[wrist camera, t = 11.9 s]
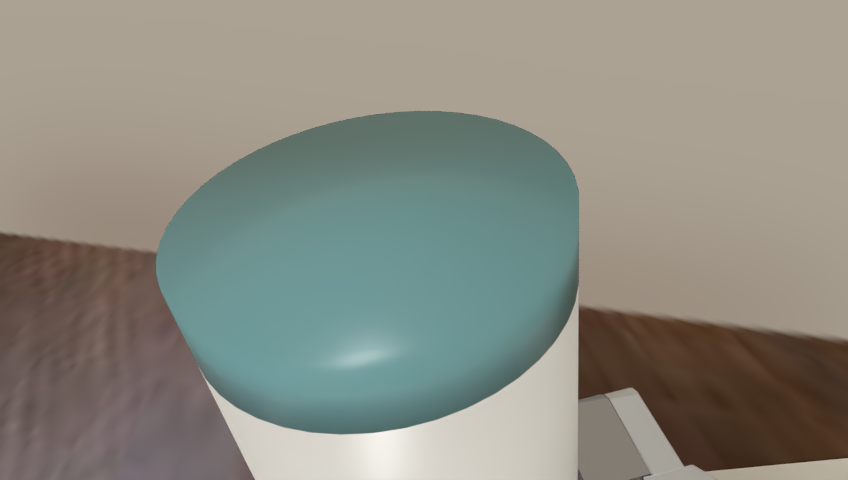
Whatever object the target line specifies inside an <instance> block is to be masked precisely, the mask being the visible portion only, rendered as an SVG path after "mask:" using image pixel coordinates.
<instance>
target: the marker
mask: <svg viewBox="0 0 848 480" xmlns="http://www.w3.org/2000/svg"><path fill="white" fill-rule="evenodd" d="M156 276H157V279H158V283H159V287H160V290H161V292H162V294H163V296H164V298H165V300H166V302H167V304H168V306H169V308H170V310H171V312H172V314H173V316H174V318H175V320H176V322H177V324H178V326H179V328H180V330H181V333H182V335H183V337H184V339H185V341H186V343H187V345H188V347H189V349H190V351H191V353H192V355H193V357H194V359H195V361H196V363H197V365H198V367H199V369H200V371H201V373H202V375H203V377H204V379H205V381H206V383H207V385H208V387H209V389H210V391H211V393H212V395H213V397H214V399H215V401H216V403H217V405H218V407H219V409H220V411H221V413H222V415H223V417H224V419H225V421H226V423H227V425H228V427H229V429H230V431H231V433H232V435H233V437H234V439H235V441H236V443H237V445H238V447H239V449H240V451H241V453H242V455H243V457H244V459H245V461H246V463H247V465H248V467H249V469H250V471H251V473H252V475H253V477H254V479H255V480H578V301H579V300H578V299H579V298H578V296H579V294H578V293H579V292H578V291H579V290H578V289H579V288H578V287H579V285H578V282H579V191H578V187H577V183H576V179H575V176H574V174H573V172H572V170H571V169H570V167H569V165H568V163H567V162H566V161H565V159H564V158H563V157H562V156H561V155H560V154H559V153H558V151H557V150H555V149H554V148H553V147H552V146H550V145H549V144H548V143H547V142H545V141H544V140H542V139H541V138H539V137H537V136H536V135H534V134H532V133H530V132H528V131H526V130H524V129H522V128H519V127H517V126H515V125H512V124H508V123H505V122H502V121H499V120H496V119H491V118H487V117H482V116H477V115H471V114H464V113H455V112H441V111H411V112H394V113H385V114H376V115H369V116H364V117H357V118H352V119H347V120H343V121H338V122H334V123H330V124H327V125H323V126H319V127H316V128H312V129H309V130H306V131H303V132H300V133H297V134H294V135H292V136H289V137H287V138H284V139H282V140H279V141H276V142H274V143H272V144H270V145H268V146H265V147H263V148H261V149H259V150H257V151H255V152H253V153H251V154H249V155H247V156H246V157H244V158H242V159H240V160H238V161H237V162H235V163H233V164H232V165H230V166H229V167H227V168H226V169H224V170H222V171H221V172H219V173H218V174H217V175H215V176H214V177H213V178H211V179H210V180H209V181H208V182H206V183H205V184H204V185H203V186H201V187H200V188H199V189H198V190H197V191H196V192H195V193H194V194H193V195H192V196H191V197H190V198H189V199H188V200H187V201H186V202H185V203H184V204H183V205H182V207H181V208H180V209H179V210H178V211H177V213H176V214H175V215H174V217H173V218H172V220H171V222H170V223H169V225H168V226H167V228H166V230H165V232H164V235H163V237H162V239H161V241H160V244H159V248H158V253H157V257H156Z"/></svg>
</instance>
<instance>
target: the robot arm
mask: <svg viewBox="0 0 848 480" xmlns="http://www.w3.org/2000/svg"><path fill="white" fill-rule="evenodd" d="M578 480H718V479H716V478H714V477H713V476H711V475H709V474H708V473H706V472H704V471H703V470H701V469H699V468H698V467H696V466H694V465H688V466H684V465H683V464H682V462H681V460H680V459H679V457H678V456H677V454H676V452H675V451H674V449H673V448H672V446H671V444H670V443H669V441H668V440H667V438H666V436H665V435H664V433H663V432H662V430H661V428H660V427H659V425H658V424H657V422H656V420H655V419H654V417H653V416H652V414H651V412H650V411H649V409H648V408H647V406H646V404H645V403H644V401H643V400H642V398H641V396H640V395H639V393H638V392H637V391H636V390H635V389H633V388H626V389H622V390H618V391H615V392H611V393H607V394H604V395H602V394H600V395H596V396H592V397H588V398H585V399H581V400H578Z"/></svg>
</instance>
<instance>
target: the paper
mask: <svg viewBox="0 0 848 480" xmlns="http://www.w3.org/2000/svg"><path fill="white" fill-rule="evenodd" d="M706 473H708V474H709V475H711V476H713V477H714V478H716V479H718V480H848V458H844V459H833V460H823V461H812V462H802V463H791V464H780V465H770V466H759V467H749V468H738V469H728V470H717V471H707V472H706Z"/></svg>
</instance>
